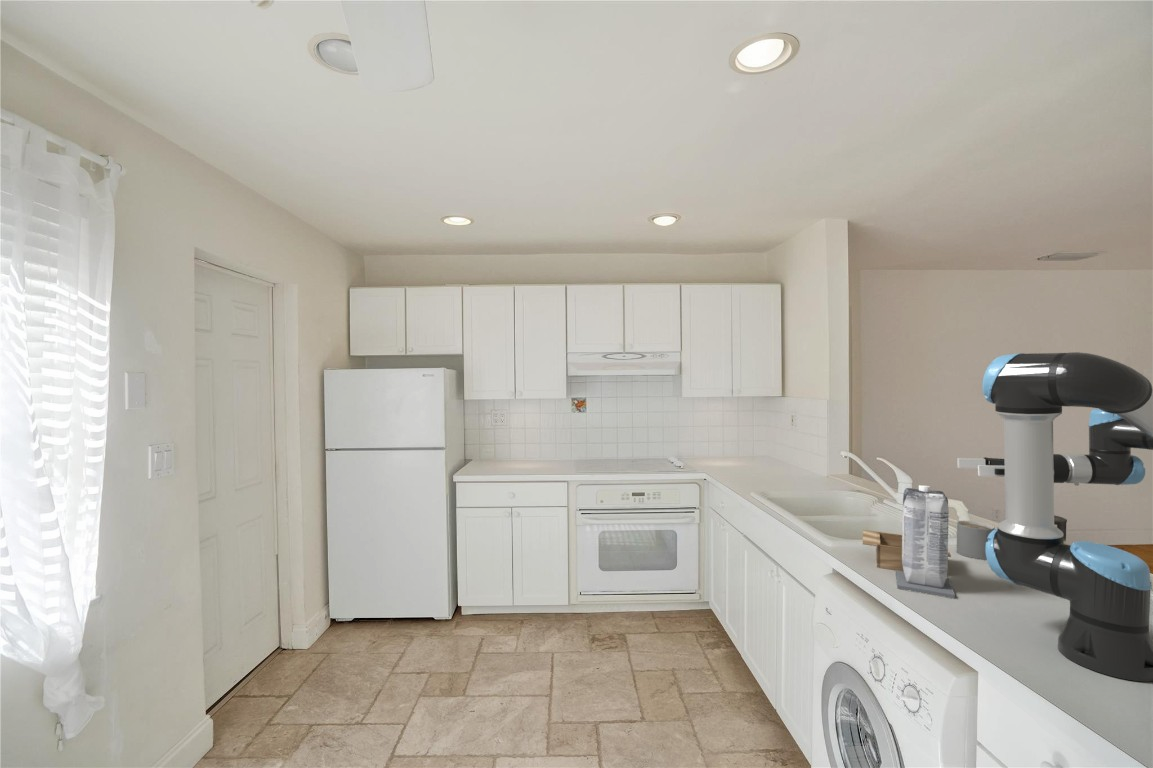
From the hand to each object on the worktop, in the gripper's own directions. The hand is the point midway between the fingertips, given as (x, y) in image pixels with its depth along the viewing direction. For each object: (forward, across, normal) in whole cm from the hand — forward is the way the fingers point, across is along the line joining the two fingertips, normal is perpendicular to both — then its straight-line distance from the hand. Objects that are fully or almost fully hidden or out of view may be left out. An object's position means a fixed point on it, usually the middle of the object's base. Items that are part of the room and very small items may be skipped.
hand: (967, 466), depth 144 cm
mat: (+11, +1, -34) cm, 36 cm away
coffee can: (-33, +37, -35) cm, 61 cm away
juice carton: (+11, +2, -33) cm, 35 cm away
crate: (+11, +19, -34) cm, 40 cm away
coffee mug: (-16, +36, -35) cm, 52 cm away
